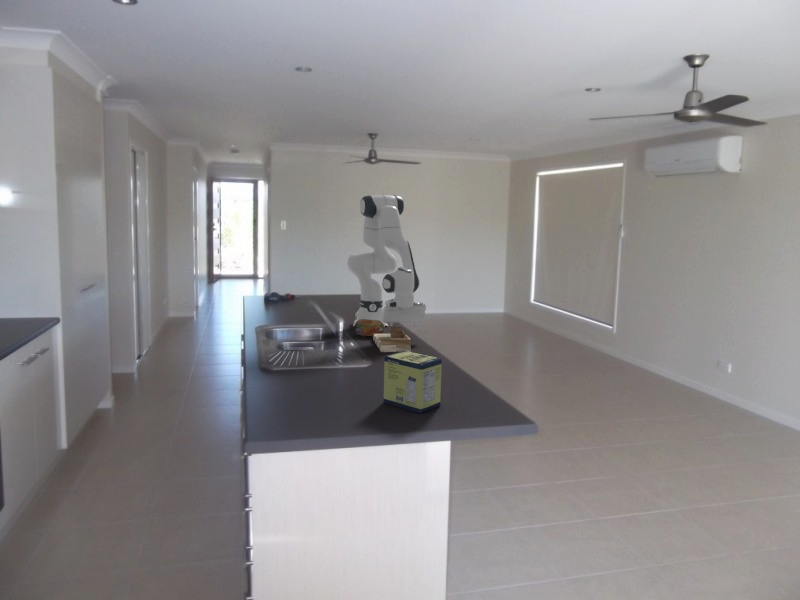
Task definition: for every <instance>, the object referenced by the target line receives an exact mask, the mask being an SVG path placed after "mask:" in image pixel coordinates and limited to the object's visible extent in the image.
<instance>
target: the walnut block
mask: <svg viewBox="0 0 800 600" xmlns="http://www.w3.org/2000/svg"><path fill="white" fill-rule="evenodd" d="M402 330H403V327H401V326H393V327H391V326H390V334H391V337H392V338H402Z"/></svg>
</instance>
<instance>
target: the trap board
mask: <svg viewBox="0 0 800 600" xmlns="http://www.w3.org/2000/svg"><path fill="white" fill-rule="evenodd" d="M372 338H373V339H372V340H373V342H374V341H375V342H374V343H375V345H376V346H377V348H378V349H379V351H380V352H381V353H398V352H402V351H409V352H412V351H411V350H412V349H411V348H412V347H411V346H412V339H411V338H410V336H408V335H407V333H406V332H405V331H404V330H403V329H402V338H392V337H391V333H383V334H373V337H372Z"/></svg>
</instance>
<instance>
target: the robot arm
mask: <svg viewBox="0 0 800 600" xmlns="http://www.w3.org/2000/svg"><path fill="white" fill-rule="evenodd" d="M404 202H405V201H404V200H403V198H402V197H401V196H400V195H396V194H392V195H391V194H374V195H365V196H363V197H361V199H360V202H359V209H360V213H361V214H362V215H363V216H364V220H363V230H362V231H363V235H362V239H363V243H364V244H365V245H366V246H368V247H370V248H372V249H373V252H357V253H356V252H355V253H351V254H350V256H348V259H347V262H346V263H347V268H348V270H349V271H350V273H352V274H353V275H355V277H356V278H357V279H358V281H359V286H360V299H359V309H357V312H355V315H354V316H355V320H354V321H353V325H352V327H354V326H355V323H356V322H357V321H358V320H360V319H369V320H379V321H381V322H382V323H383V324H384V326H387V327H389V325H390V328H391V327H394V326H393V325H394V324H395V323H397V324H398V323H413V324H414V325H413V326H412V327H411V329H410V330H411V332H412V333H415V332H416V328H417V327H418V325H419V323H425V321H426V310H427V306H426V304H425V303H423V302H415V301H414V300H415V299H414V298H415V294H414V293H415V292H416V291H417V290H418V288H419V286H420V280H419V276H418V273H417V271H416V267H415V262H414V256H413V253H412V252H413V251H412V249H411V245H410V243H409V241H408V240H407V239H406V237H405V236H404V233H403V228H402V226H403V225H402V220H401V215H402V214H403V213H404V210H405V203H404ZM389 249H391V250H393V251H395V252H396V253H397V254H398V255H399V256H400V259H401V262H402V265H403V266H402V267H401V266H400V267H397V265H398V262H397V258H396V256H395V255H394V254H393V253H392V252H391V251H390V250H389ZM396 268H397V269H396ZM373 274H374V275H380V274H381V275H384V276H383V279H382V284H381V283H380V282H379V281H377V280H375V279H373V278H372V275H373ZM383 290H384V291H385V292H386V293H388V294H394V298H390V299H388V300H385V303H384V302H383ZM384 304H385V306H384ZM383 306H384V307H383ZM388 323H389V324H388Z"/></svg>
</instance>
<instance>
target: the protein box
mask: <svg viewBox="0 0 800 600" xmlns="http://www.w3.org/2000/svg"><path fill="white" fill-rule="evenodd" d="M442 360H443V359H442V358H440V357H436V356H432V355H431V356H430V355H425V354H420V353H416V352H412V351H411V352H409V351H402V352H393V353H391V354H387V355H384V363H383V365H384V367H383V368H384V369H383V370H384V371H383V402H384V404H386V403H387V404H388V405H389V404H391V405H390V406H393V405H394V406H393V407H396V406H397V407H396V408H399V407H401V408H400V409H403V408H404V409H403V410H406V409H408V410H407V411H409V410H411V411H410V412H413V411H415V412H414V413H416V412H418V413H417V414H419V413H421V414H423V413H422V412H424V413H426V412H428V410H429V411H431V410H433V408H434V409H436V408H439V407H441V393H442V392H441V391H442V390H441V389H442V388H441V387H442V365H443V364H442V363H443V361H442ZM387 404H386V405H387ZM438 406H439V407H438ZM435 407H436V408H435ZM430 409H431V410H430ZM425 411H426V412H425Z"/></svg>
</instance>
